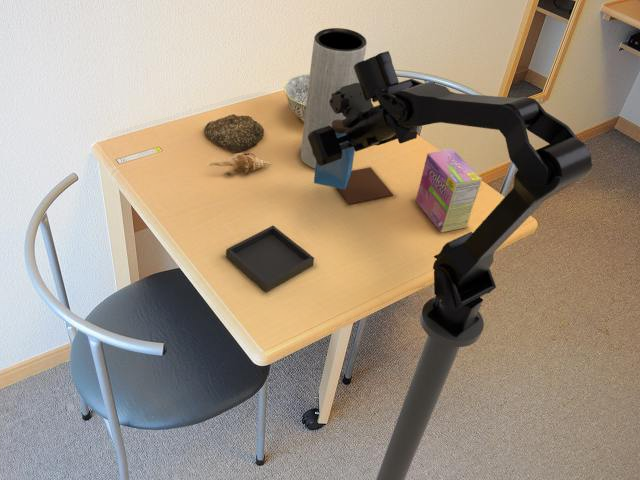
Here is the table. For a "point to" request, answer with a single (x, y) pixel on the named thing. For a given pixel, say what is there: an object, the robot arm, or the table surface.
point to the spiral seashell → (242, 162)
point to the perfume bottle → (336, 164)
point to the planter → (329, 79)
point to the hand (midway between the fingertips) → (332, 147)
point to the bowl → (297, 94)
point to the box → (448, 190)
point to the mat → (364, 187)
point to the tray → (269, 258)
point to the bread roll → (234, 132)
